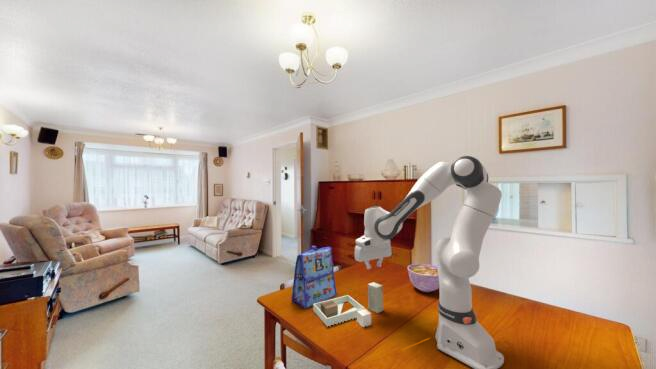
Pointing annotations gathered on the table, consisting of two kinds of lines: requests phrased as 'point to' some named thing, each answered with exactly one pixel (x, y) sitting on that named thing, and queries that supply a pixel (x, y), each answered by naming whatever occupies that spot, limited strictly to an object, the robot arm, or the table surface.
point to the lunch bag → (314, 277)
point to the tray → (340, 317)
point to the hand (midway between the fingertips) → (373, 267)
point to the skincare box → (375, 297)
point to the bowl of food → (424, 277)
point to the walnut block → (329, 308)
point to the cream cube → (364, 317)
